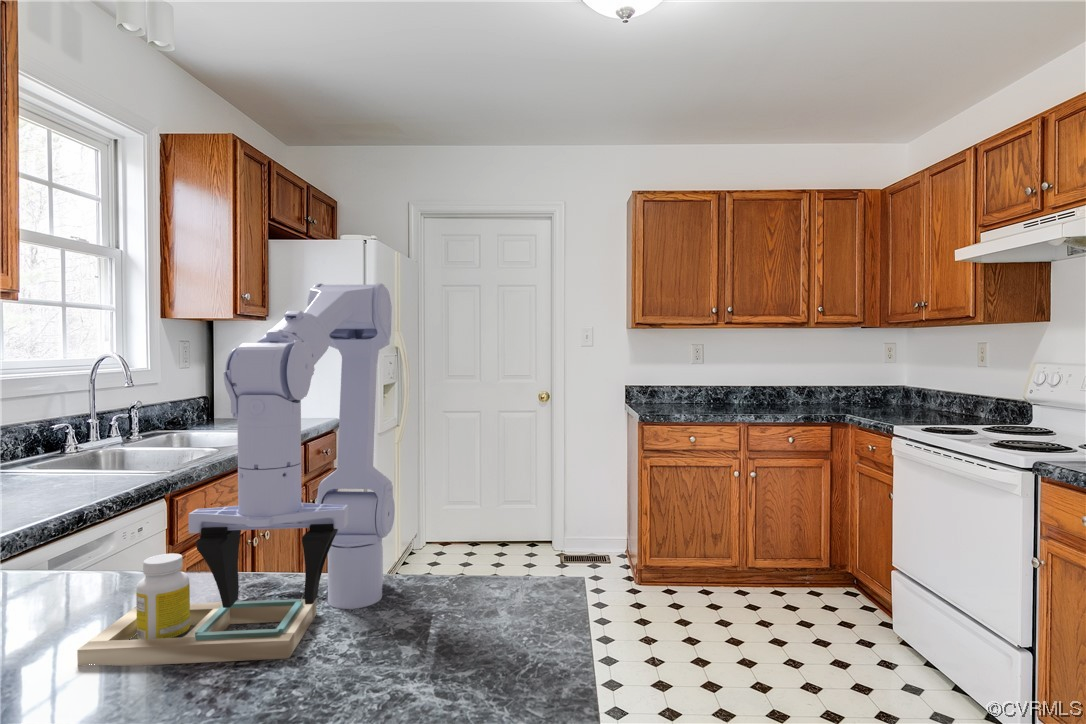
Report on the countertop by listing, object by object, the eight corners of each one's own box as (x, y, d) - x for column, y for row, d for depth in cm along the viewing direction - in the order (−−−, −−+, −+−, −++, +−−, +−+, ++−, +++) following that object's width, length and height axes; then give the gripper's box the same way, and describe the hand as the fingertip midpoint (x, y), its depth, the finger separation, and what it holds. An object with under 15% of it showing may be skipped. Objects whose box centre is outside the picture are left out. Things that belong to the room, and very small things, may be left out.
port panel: (137, 621, 80) (137, 601, 80) (316, 614, 82) (316, 594, 82) (77, 668, 68) (77, 645, 68) (289, 658, 70) (289, 636, 70)
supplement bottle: (198, 630, 78) (198, 550, 77) (174, 651, 72) (174, 565, 72) (153, 631, 77) (153, 551, 77) (126, 652, 72) (125, 566, 72)
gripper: (172, 473, 57) (174, 622, 58) (337, 470, 59) (338, 615, 59) (205, 460, 64) (206, 593, 65) (351, 457, 66) (352, 587, 66)
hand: (271, 602), depth 62 cm, fingers open, 7 cm apart
